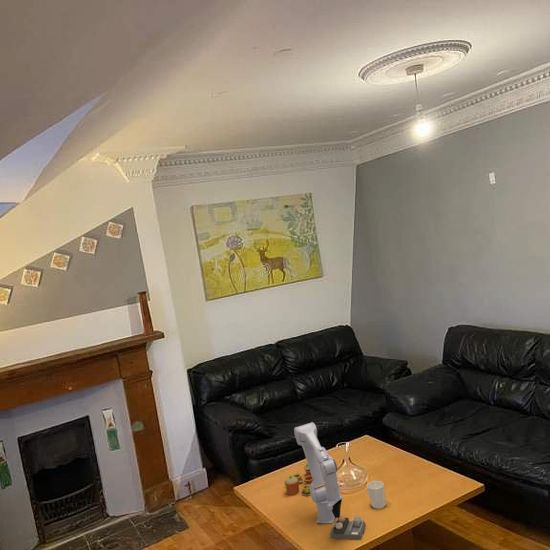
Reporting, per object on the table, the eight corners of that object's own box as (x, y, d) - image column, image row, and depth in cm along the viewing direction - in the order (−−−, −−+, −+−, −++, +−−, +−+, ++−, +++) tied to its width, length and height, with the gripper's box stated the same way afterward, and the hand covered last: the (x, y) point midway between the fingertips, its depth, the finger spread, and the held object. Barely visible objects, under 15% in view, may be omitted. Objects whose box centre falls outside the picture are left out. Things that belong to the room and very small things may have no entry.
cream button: (337, 526, 232) (336, 522, 232) (343, 526, 231) (343, 522, 231) (335, 530, 229) (334, 526, 229) (342, 530, 228) (341, 526, 228)
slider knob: (355, 522, 234) (354, 516, 234) (362, 522, 233) (360, 516, 233) (353, 526, 231) (352, 520, 231) (360, 526, 230) (359, 520, 230)
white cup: (367, 504, 251) (363, 484, 250) (380, 498, 254) (377, 479, 254) (376, 511, 244) (373, 490, 243) (390, 505, 247) (387, 484, 246)
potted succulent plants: (314, 497, 268) (311, 478, 268) (284, 499, 271) (281, 481, 271) (319, 472, 294) (316, 456, 293) (292, 475, 297) (289, 459, 296)
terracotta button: (340, 520, 237) (339, 515, 237) (346, 520, 236) (345, 516, 236) (338, 523, 234) (337, 519, 234) (344, 524, 233) (344, 519, 233)
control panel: (336, 524, 239) (335, 516, 239) (366, 526, 234) (364, 517, 234) (330, 538, 230) (329, 529, 230) (361, 539, 225) (359, 531, 224)
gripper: (336, 496, 221) (342, 526, 222) (345, 479, 234) (350, 508, 235) (320, 495, 223) (326, 526, 224) (329, 478, 237) (335, 507, 238)
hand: (337, 516), depth 230 cm, fingers closed
